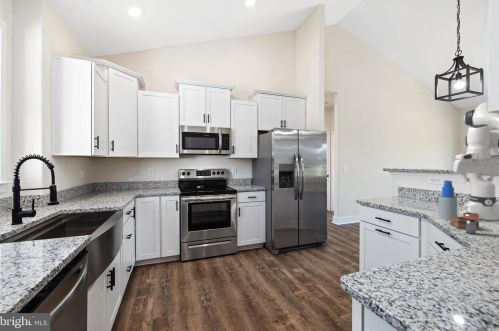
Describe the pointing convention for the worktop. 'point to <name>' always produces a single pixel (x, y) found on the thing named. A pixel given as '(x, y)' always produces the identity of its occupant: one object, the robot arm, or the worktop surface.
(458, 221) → the block
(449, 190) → the spray bottle
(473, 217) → the copper cross-head bolt
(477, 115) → the robot arm
